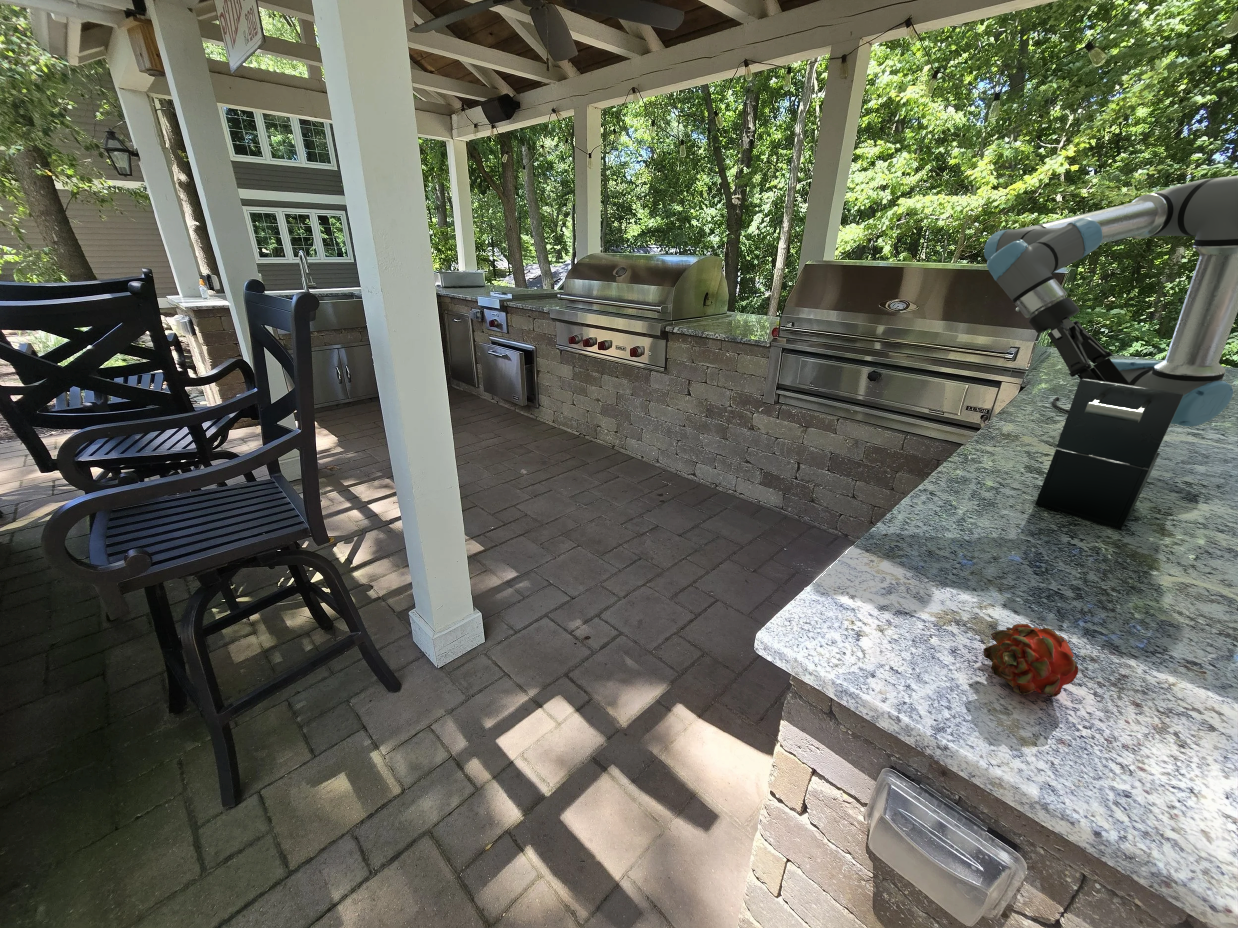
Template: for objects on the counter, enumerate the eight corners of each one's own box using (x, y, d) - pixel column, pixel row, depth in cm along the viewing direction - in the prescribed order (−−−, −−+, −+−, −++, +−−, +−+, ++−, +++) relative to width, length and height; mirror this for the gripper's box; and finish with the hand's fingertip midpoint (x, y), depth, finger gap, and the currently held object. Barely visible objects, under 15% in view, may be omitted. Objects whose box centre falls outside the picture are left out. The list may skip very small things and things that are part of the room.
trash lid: (1081, 378, 94) (1066, 392, 90) (1184, 393, 85) (1174, 409, 80) (1057, 446, 101) (1042, 462, 96) (1150, 467, 91) (1138, 486, 87)
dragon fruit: (993, 713, 60) (1017, 674, 68) (1083, 718, 54) (1099, 675, 62) (964, 642, 62) (992, 613, 69) (1049, 639, 55) (1069, 607, 63)
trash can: (1052, 487, 114) (1072, 434, 109) (1133, 509, 104) (1160, 452, 99) (1034, 504, 106) (1055, 448, 101) (1120, 530, 96) (1148, 470, 91)
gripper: (1043, 315, 114) (1105, 392, 109) (1008, 325, 100) (1077, 414, 95) (1082, 292, 108) (1149, 373, 103) (1051, 299, 94) (1127, 393, 89)
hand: (1115, 393), depth 99 cm, fingers open, 13 cm apart
